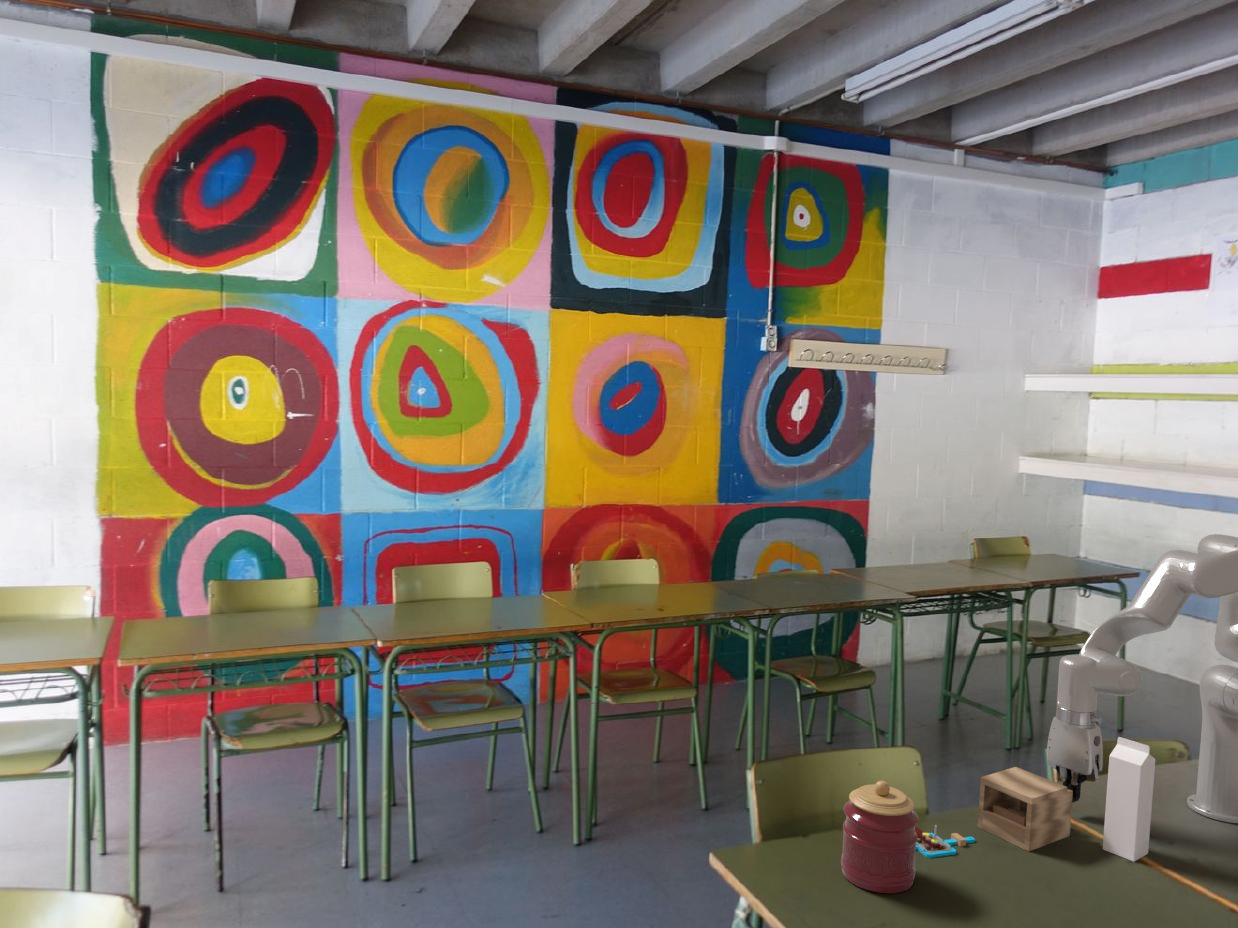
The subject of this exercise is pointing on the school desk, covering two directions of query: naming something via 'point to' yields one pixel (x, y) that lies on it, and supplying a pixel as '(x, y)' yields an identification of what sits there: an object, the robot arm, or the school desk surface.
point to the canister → (879, 839)
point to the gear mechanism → (939, 843)
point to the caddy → (1013, 813)
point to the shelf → (1044, 808)
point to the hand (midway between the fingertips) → (1070, 800)
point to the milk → (1129, 800)
